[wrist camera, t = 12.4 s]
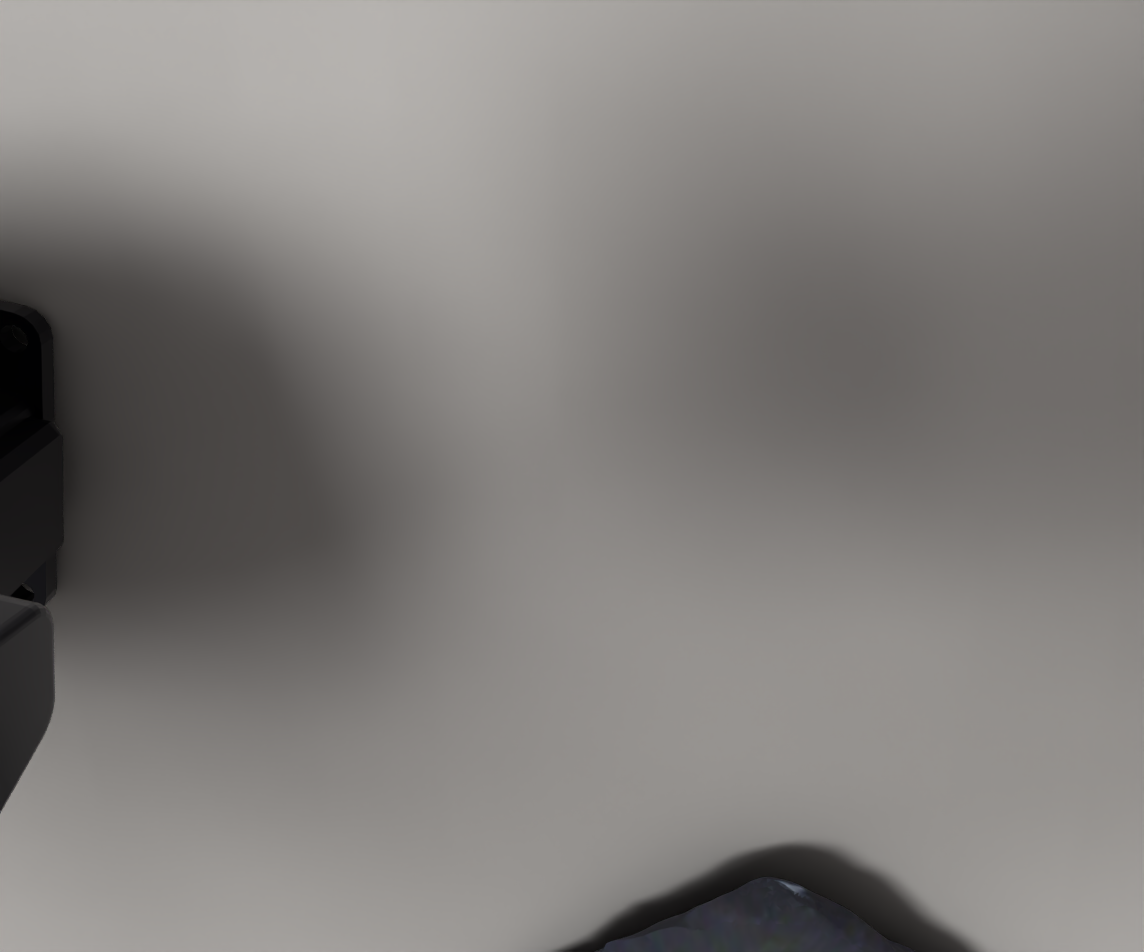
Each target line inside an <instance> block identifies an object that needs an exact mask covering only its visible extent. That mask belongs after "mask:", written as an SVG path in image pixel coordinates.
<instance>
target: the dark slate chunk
mask: <svg viewBox="0 0 1144 952" xmlns="http://www.w3.org/2000/svg"><path fill="white" fill-rule="evenodd" d="M595 952H915V951H914V950H912V949H910V948H908V947H906V946H904V945H901V944H899V943H896V942H892V941H890V940H888V939H886V938H884V937H883V936H882V935H881V934H880V933H878V932H877V931H876V930H875V929H873V928H872V927H871V926H870V925H868V924H867V923H866V922H864V921H863V920H862V919H861V918H860V917H858V916H857V915H856V914H854V913H853V912H852V911H850V910H848V909H847V908H845V907H843V906H841V905H839V904H837V903H835V902H833V901H831V900H829V899H827V898H825V897H823V896H820V895H818V894H816V893H814V892H812V891H810V890H808V889H806V888H804V887H802V886H800V885H798V884H796V883H794V882H791V881H788V880H784V879H779V878H773V877H761V878H758V879H755V880H752V881H750V882H748V883H746V884H744V885H743V886H741V887H739V888H737V889H736V890H734V891H731V892H729V893H726V894H724V895H721V896H719V897H717V898H715V899H713V900H711V901H709V902H706V903H704V904H701V905H699V906H696V907H694V908H693V909H691V910H689V911H687V912H685V913H682V914H679V915H676V916H673V917H670V918H668V919H665V920H662V921H660V922H657V923H655V924H654V925H652V926H650V927H648V928H646V929H644V930H642V931H640V932H638V933H636V934H633V935H631V936H628V937H624V938H620V939H617V940H613V941H610V942H608V943H606V945H605V947H604V948H602V949H600V950H597V951H595Z"/></svg>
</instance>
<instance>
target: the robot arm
mask: <svg viewBox="0 0 1144 952" xmlns="http://www.w3.org/2000/svg"><path fill="white" fill-rule="evenodd" d="M13 325H14V326H16V327H18V328H20V329H21V330H22V331H23V332H24V333H25V335H26V337H27V340H28V344H27V345H25V344H23V343H21V342H19V341H18V340H17V339H16V337H15V336H14V334H13V331H12V326H13ZM63 540H64V530H63V438H62V435H61V433H60V431H59V429H58V427H57V425H56V424H55V423H54V366H53V335H52V331H51V327H50V325H49V324H48V322H47V321H46V319H45V318H44V317H43V316H42V315H41V314H40V313H38V312H37V311H36V310H34V309H32V308H29V307H27V306H24V305H20V304H15V303H11V302H6V301H2V300H0V813H1V811H2V809H3V808H4V806H5V804H6V802H7V801H8V799H9V797H10V795H11V793H12V792H13V790H14V788H15V786H16V784H17V783H18V781H19V779H20V777H21V776H22V774H23V772H24V770H25V768H26V767H27V765H28V763H29V761H30V760H31V758H32V756H33V754H34V752H35V751H36V749H37V747H38V745H39V743H40V742H41V740H42V738H43V736H44V734H45V732H46V730H47V728H48V725H49V723H50V720H51V716H52V713H53V708H54V702H55V675H54V626H53V619H52V616H51V614H50V611H49V610H48V609H47V608H46V607H45V605H46V604H47V603H48V602H49V601H50V600H51V598H52V597H53V596H54V595H55V593H56V588H57V573H56V550H58V549H59V548H60V547H61V545H62V544H63ZM22 583H25V584H27V585H29V586H30V587H31V589H32V590H33V592H34V593H33V592H30V591H28V590H26V589H25V588H24V587H23V585H22Z"/></svg>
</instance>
